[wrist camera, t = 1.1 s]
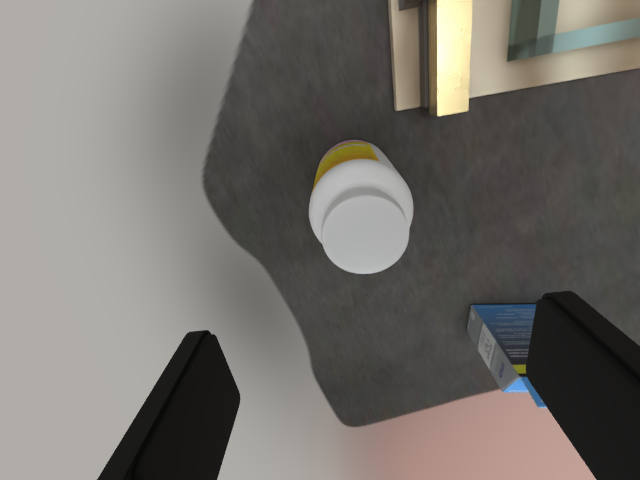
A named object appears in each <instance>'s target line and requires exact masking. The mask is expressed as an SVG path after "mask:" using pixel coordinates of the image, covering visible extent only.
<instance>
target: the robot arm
mask: <svg viewBox="0 0 640 480" xmlns="http://www.w3.org/2000/svg"><path fill="white" fill-rule="evenodd" d="M526 374H527V377H528V380H529V381H530V383H531V385H532V386H533V388H534V389H535V390H536V392H537V393H538V395H539V396H540V398H541V399H542V401H543V402H544V404H545V405H546V407H547V408H548V409H549V411H550V412H551V413H552V415H553V417H554V418H555V420H556V421H557V423H558V424H559V425H560V427H561V428H562V430H563V431H564V433H565V434H566V436H567V437H568V438H569V440H570V441H571V443H572V444H573V446H574V447H575V449H576V450H577V452H578V453H579V455H580V456H581V458H582V459H583V460H584V461H585V463H586V465H587V466H588V467H589V469H590V471H591V472H592V473H593V475H594V477H595V478H596V479H597V480H640V346H639V345H637V344H636V343H635V342H634V341H633V340H631V339H630V338H629V337H628V336H626V335H625V334H624V333H623V332H622V331H620V330H619V329H618V328H617V327H615V326H614V325H613V324H612V323H611V322H609V321H608V320H607V319H606V318H604V317H603V316H602V315H601V314H600V313H598V312H597V311H596V310H595V309H594V308H592V307H591V306H590V305H589V304H587V303H586V302H585V301H584V300H583V299H581V298H580V297H579V296H578V295H576V294H575V293H573V292H572V291H562V292H553V293H546V294H544V295H543V297H542V299H540V300H538V301H537V304H536V309H535V315H534V321H533V327H532V333H531V339H530V345H529V351H528V357H527V363H526ZM239 404H240V393H239V390H238V388H237V385H236V383H235V381H234V378H233V376H232V373H231V371H230V369H229V366H228V364H227V362H226V359H225V357H224V354H223V352H222V349H221V347H220V344H219V342H218V340H217V337H216V336H215V335H214V334H213V335H211V333H210V332H209V331H208V330H204V331H194V332H189V333H187V334H186V336H185V337H184V339H183V340H182V342H181V344H180V345H179V347H178V349H177V350H176V352H175V353H174V355H173V357H172V358H171V360H170V362H169V363H168V365H167V367H166V368H165V370H164V371H163V373H162V375H161V376H160V378H159V380H158V381H157V383H156V385H155V386H154V388H153V389H152V391H151V393H150V394H149V396H148V397H147V399H146V401H145V402H144V404H143V406H142V407H141V409H140V411H139V412H138V414H137V416H136V417H135V419H134V420H133V422H132V424H131V425H130V427H129V429H128V430H127V432H126V434H125V435H124V437H123V438H122V440H121V442H120V443H119V445H118V447H117V448H116V450H115V451H114V453H113V455H112V456H111V458H110V460H109V461H108V463H107V464H106V466H105V468H104V470H103V471H102V473H101V474H100V476H99V478H98V479H97V480H217V478H218V474H219V471H220V468H221V464H222V461H223V458H224V454H225V451H226V448H227V444H228V441H229V438H230V434H231V431H232V428H233V425H234V421H235V418H236V414H237V411H238V408H239Z"/></svg>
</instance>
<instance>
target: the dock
mask: <svg viewBox="0 0 640 480" xmlns="http://www.w3.org/2000/svg"><path fill="white" fill-rule="evenodd" d="M388 9H389V26H390V43H391V60H392V77H393V94H394V110H396V111H399V110H405V109H410V108H416V107H425V108H426V107H429V51H428V0H388ZM636 68H640V0H473V1H472V27H471V54H470V81H469V98H473V97H478V96H484V95H490V94H495V93H501V92H506V91H512V90H518V89H523V88H529V87H535V86H540V85H546V84H552V83H557V82H563V81H569V80H574V79H580V78H585V77H591V76H597V75H602V74H608V73H614V72H619V71H625V70H631V69H636Z"/></svg>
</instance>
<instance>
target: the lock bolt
mask: <svg viewBox="0 0 640 480" xmlns="http://www.w3.org/2000/svg"><path fill="white" fill-rule="evenodd" d="M472 1H473V0H428V51H429V115H434V116H443V115H448V114H454V113H460V112H466V111H468V107H469V81H470V54H471V27H472Z"/></svg>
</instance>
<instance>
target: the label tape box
mask: <svg viewBox="0 0 640 480" xmlns="http://www.w3.org/2000/svg"><path fill="white" fill-rule="evenodd" d="M535 309H536V304H511V305H471V308H470V313H469V319H468V325H467V332H468V333H469V335H470V337H471V339H472V340H473V342H474V344H475V346H476V347H477V349H478V351H479V352H480V354H481V356H482V358H483V359H484V361H485V363H486V365H487V366H488V368H489V370H490V371H491V373H492V375H493V377H494V378H495V380H496V382H497V384H498V385H499V387H500V389H501V390H502V392H529V393H530V395H531V396H532V399H533V400H534V402H535V403H536V405H537V407H538V408H547V407H546V405H545V404H544V402H543V401H542V399H541V398H540V396H539V395H538V393H537V392H536V390H535V389H534V388H533V386H532V385H531V383H530V381H529V380H528V377H527V374H526V363H527V357H528V351H529V345H530V339H531V333H532V327H533V321H534V315H535Z"/></svg>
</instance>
